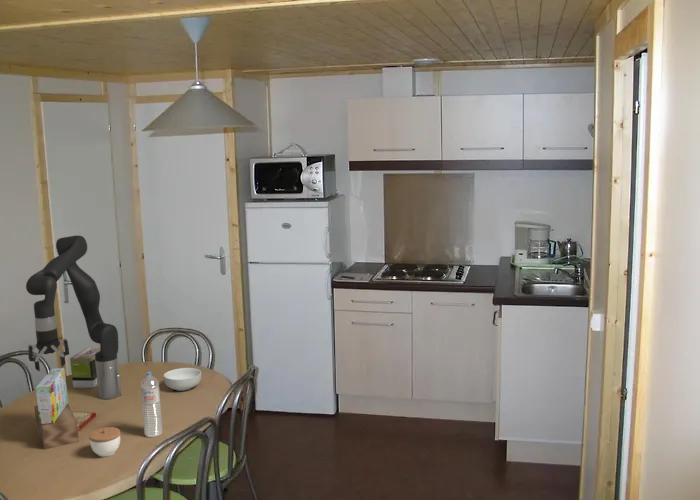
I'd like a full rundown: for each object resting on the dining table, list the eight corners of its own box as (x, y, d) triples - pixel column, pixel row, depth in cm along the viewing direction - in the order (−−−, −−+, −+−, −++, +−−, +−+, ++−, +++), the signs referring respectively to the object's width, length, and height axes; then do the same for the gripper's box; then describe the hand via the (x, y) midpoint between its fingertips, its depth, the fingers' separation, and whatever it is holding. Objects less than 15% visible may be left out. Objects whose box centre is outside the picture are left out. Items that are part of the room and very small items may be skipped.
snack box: (54, 404, 281) (51, 368, 278) (69, 402, 281) (65, 367, 279) (38, 425, 260) (34, 387, 257) (54, 424, 261) (50, 385, 258)
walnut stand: (67, 418, 286) (66, 400, 285) (78, 441, 264) (76, 421, 262) (36, 425, 280) (34, 406, 279) (44, 449, 258) (42, 428, 256)
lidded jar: (91, 462, 247) (89, 437, 245) (89, 450, 256) (87, 426, 255) (123, 456, 251) (121, 431, 249) (120, 444, 260) (118, 420, 259)
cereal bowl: (209, 385, 320) (208, 370, 319) (183, 397, 307) (182, 382, 305) (183, 379, 329) (182, 365, 328) (156, 390, 316) (155, 375, 314)
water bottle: (166, 431, 271) (161, 370, 267) (155, 438, 265) (151, 376, 261) (151, 429, 273) (146, 368, 269) (140, 436, 267) (135, 374, 263)
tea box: (88, 376, 336) (86, 347, 334) (108, 377, 335) (105, 347, 332) (72, 388, 321) (69, 357, 319) (92, 388, 320) (89, 357, 317)
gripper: (64, 322, 271) (68, 362, 274) (24, 328, 264) (29, 369, 267) (67, 326, 265) (71, 367, 268) (26, 333, 258) (31, 374, 261)
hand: (50, 368), depth 267 cm, fingers open, 8 cm apart
